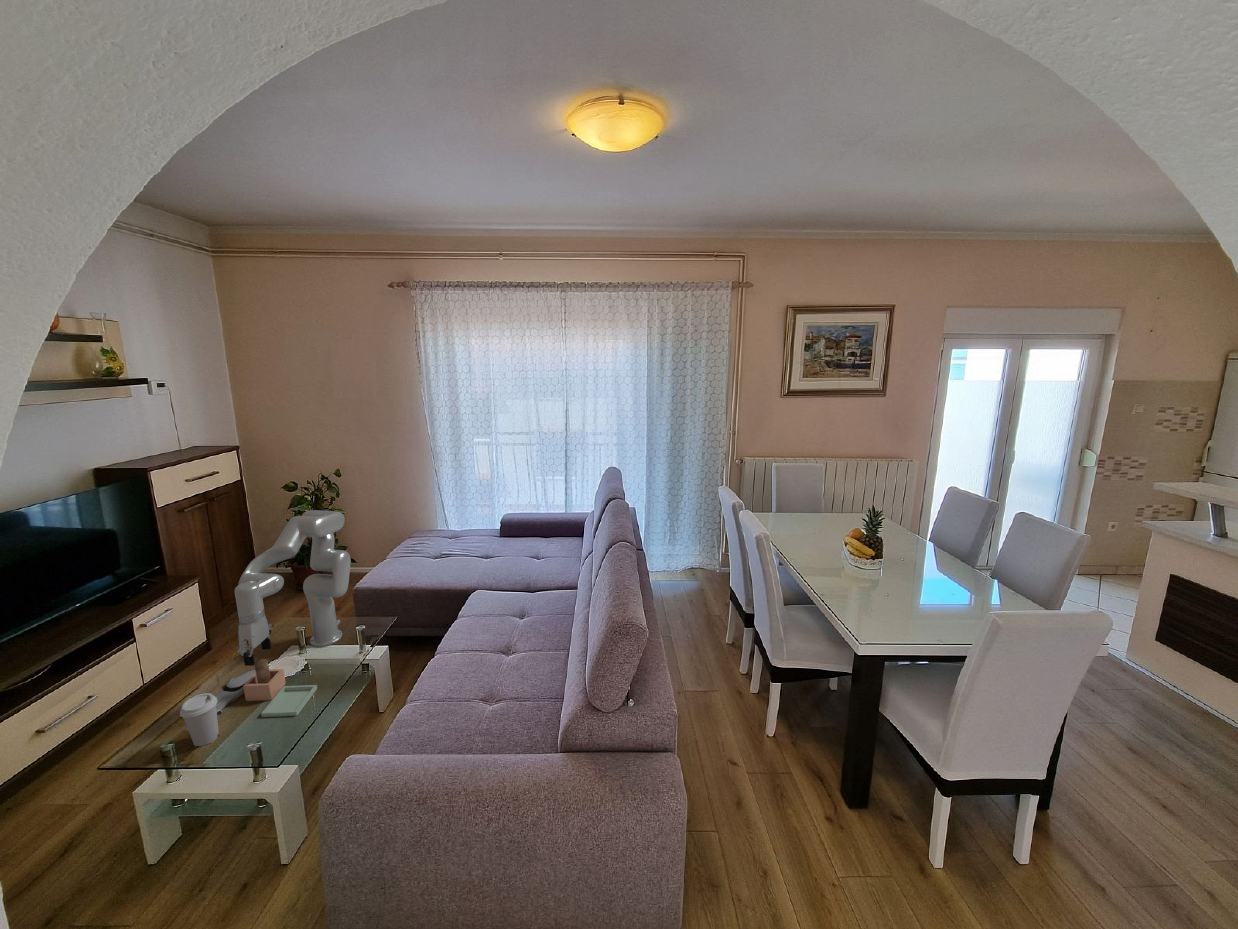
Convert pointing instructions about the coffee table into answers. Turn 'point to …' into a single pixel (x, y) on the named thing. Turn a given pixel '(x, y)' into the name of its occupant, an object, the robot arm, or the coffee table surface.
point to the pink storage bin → (264, 686)
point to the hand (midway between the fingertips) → (258, 656)
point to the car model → (232, 690)
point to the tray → (289, 701)
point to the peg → (262, 671)
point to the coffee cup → (201, 718)
